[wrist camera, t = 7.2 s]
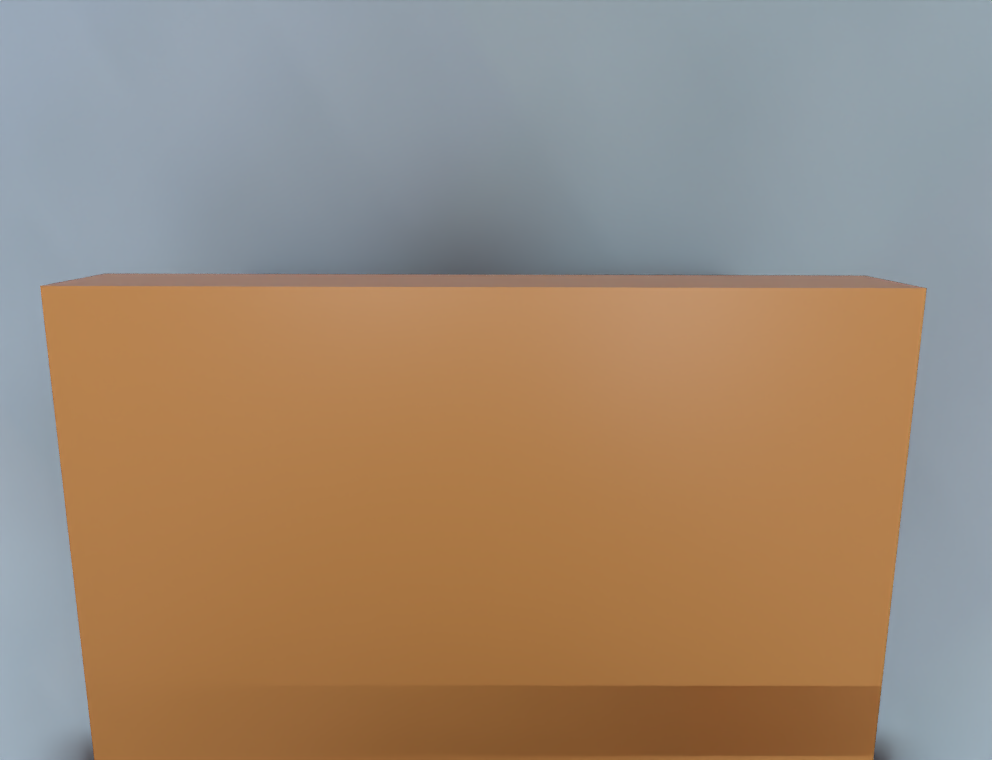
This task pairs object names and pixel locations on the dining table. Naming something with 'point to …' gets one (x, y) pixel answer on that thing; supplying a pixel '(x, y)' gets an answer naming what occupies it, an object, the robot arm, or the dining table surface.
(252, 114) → the dining table surface
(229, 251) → the dining table surface
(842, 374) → the orange box
